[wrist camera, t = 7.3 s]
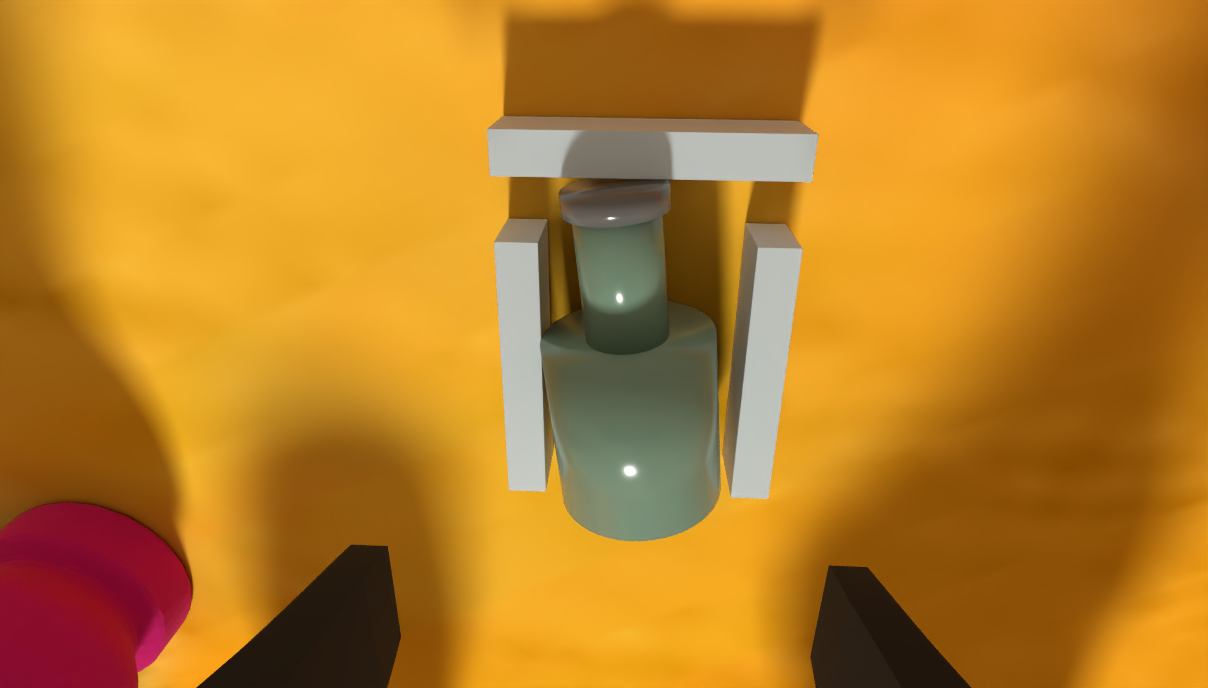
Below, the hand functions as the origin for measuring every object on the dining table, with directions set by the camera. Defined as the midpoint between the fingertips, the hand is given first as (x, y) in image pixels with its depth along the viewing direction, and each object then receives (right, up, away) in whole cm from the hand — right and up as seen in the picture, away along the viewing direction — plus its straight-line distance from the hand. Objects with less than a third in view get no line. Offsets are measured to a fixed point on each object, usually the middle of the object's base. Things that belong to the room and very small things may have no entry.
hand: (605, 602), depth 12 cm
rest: (+1, +5, +7) cm, 9 cm away
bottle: (+1, +1, +7) cm, 7 cm away
